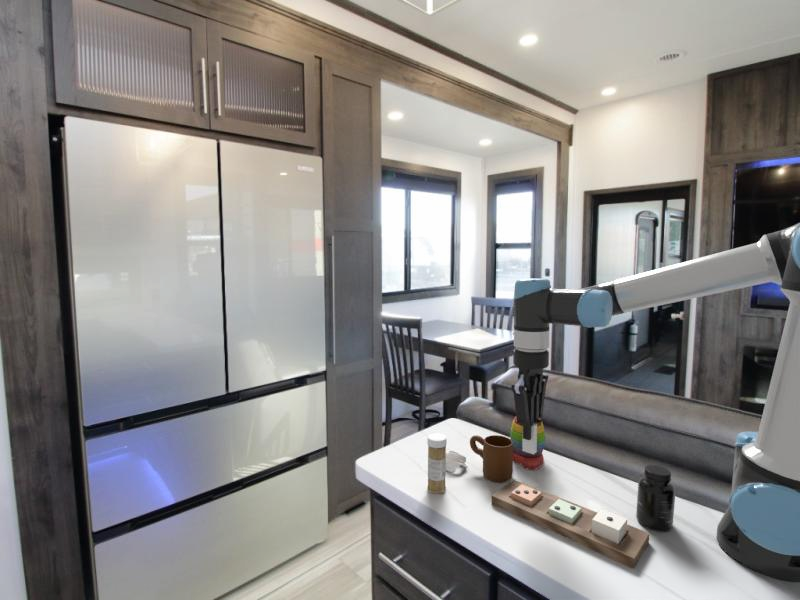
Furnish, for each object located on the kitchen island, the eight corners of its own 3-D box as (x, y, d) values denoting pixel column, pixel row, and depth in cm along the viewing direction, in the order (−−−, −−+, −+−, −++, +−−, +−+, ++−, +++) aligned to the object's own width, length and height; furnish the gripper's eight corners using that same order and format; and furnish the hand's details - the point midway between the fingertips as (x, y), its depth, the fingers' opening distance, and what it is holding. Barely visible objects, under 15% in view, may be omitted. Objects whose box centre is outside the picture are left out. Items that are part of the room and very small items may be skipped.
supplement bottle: (628, 517, 95) (631, 464, 94) (651, 510, 98) (654, 459, 96) (656, 536, 89) (660, 480, 88) (680, 528, 91) (684, 474, 90)
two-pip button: (580, 521, 94) (581, 507, 93) (571, 531, 90) (572, 517, 90) (558, 511, 97) (558, 498, 97) (548, 521, 93) (548, 507, 93)
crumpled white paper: (434, 468, 119) (432, 451, 119) (451, 458, 123) (449, 442, 123) (456, 477, 113) (454, 459, 112) (473, 467, 117) (471, 450, 117)
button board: (648, 542, 87) (649, 533, 87) (633, 568, 80) (634, 558, 79) (513, 487, 107) (513, 479, 107) (491, 503, 100) (491, 495, 100)
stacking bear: (499, 457, 123) (500, 396, 121) (520, 447, 130) (521, 389, 128) (532, 471, 115) (534, 406, 113) (553, 460, 122) (555, 398, 120)
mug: (462, 471, 115) (463, 437, 114) (476, 460, 121) (477, 428, 120) (504, 486, 108) (505, 450, 107) (517, 474, 114) (518, 439, 113)
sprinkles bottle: (435, 482, 110) (435, 431, 108) (449, 489, 106) (450, 436, 105) (423, 489, 106) (423, 436, 105) (438, 496, 103) (438, 442, 102)
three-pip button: (541, 504, 100) (541, 491, 99) (530, 513, 96) (531, 500, 96) (521, 496, 103) (521, 483, 103) (510, 504, 100) (511, 491, 99)
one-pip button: (626, 533, 87) (627, 518, 87) (618, 545, 84) (619, 529, 83) (600, 522, 91) (601, 507, 90) (591, 533, 87) (592, 518, 87)
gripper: (529, 342, 103) (527, 438, 105) (500, 350, 94) (499, 456, 96) (560, 346, 98) (558, 447, 100) (533, 355, 89) (531, 467, 91)
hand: (529, 451), depth 98 cm, fingers closed
